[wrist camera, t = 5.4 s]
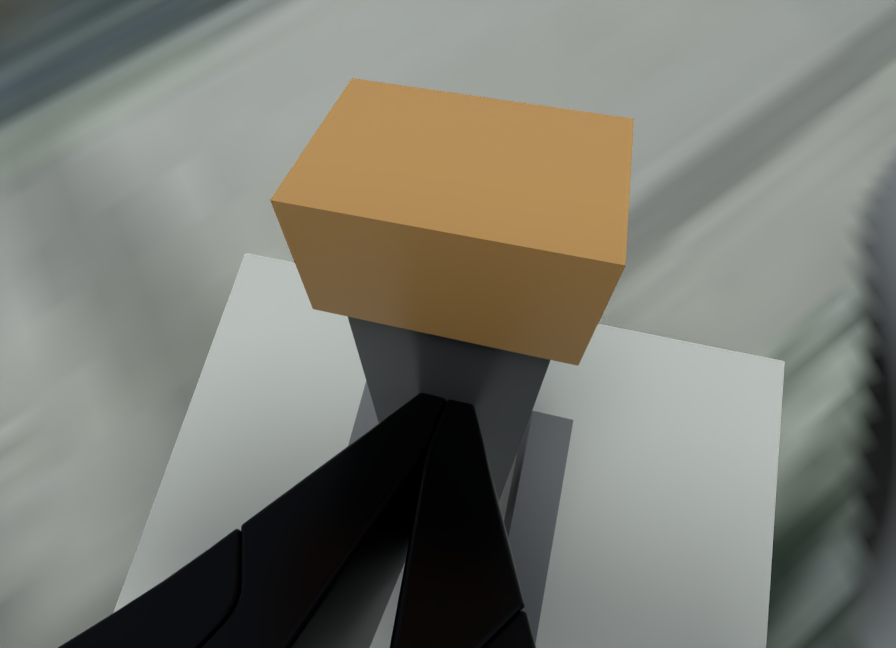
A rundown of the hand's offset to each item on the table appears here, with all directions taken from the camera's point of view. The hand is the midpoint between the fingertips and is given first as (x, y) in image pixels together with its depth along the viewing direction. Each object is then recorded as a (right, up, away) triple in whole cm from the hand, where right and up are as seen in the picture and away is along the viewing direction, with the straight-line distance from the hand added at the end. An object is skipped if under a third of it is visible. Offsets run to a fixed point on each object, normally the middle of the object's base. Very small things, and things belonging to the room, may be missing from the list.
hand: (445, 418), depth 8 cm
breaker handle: (0, -3, +6) cm, 7 cm away
